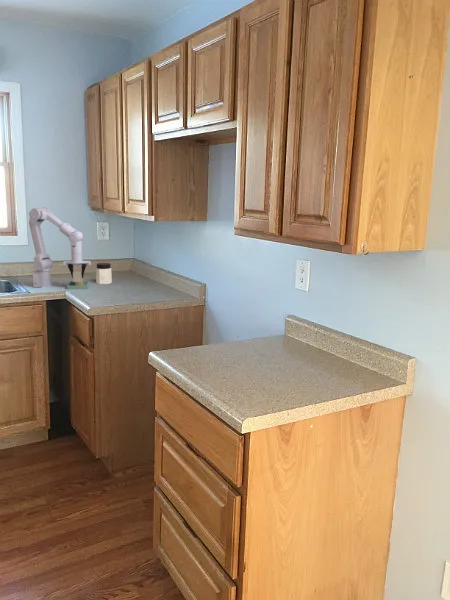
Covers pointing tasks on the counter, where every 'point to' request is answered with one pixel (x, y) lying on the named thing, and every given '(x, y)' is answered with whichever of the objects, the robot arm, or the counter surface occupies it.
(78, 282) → the tan box
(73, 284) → the tote
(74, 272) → the concrete cube
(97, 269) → the jar
